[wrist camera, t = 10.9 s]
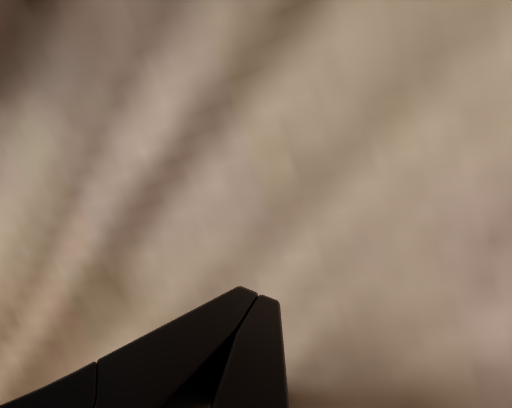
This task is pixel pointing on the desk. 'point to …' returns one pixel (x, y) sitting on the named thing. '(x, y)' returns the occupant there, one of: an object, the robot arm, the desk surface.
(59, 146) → the desk surface
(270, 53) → the desk surface
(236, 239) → the desk surface
